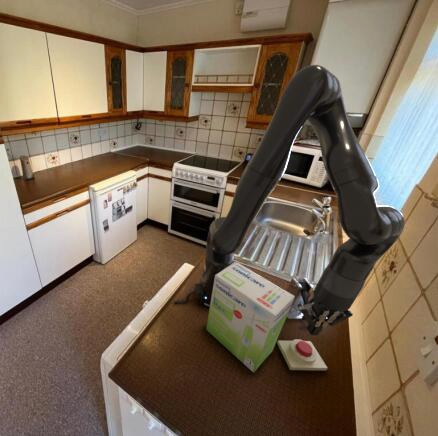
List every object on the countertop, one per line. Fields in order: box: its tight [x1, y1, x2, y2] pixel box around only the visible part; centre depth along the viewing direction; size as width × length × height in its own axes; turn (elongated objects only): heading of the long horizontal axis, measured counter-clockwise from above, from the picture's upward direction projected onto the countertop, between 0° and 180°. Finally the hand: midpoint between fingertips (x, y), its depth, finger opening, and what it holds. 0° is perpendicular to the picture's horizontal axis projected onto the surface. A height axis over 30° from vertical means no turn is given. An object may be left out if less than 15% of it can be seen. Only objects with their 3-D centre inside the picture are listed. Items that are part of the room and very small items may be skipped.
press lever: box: [298, 280, 312, 321], centre depth 78 cm, size 12×5×2 cm
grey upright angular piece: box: [286, 277, 315, 320], centre depth 83 cm, size 10×8×13 cm
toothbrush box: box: [205, 261, 295, 374], centre depth 69 cm, size 18×10×24 cm, turn 37°
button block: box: [276, 339, 328, 371], centre depth 69 cm, size 10×8×4 cm
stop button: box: [296, 340, 312, 357], centre depth 68 cm, size 4×4×2 cm
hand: (312, 332), depth 64 cm, fingers closed
